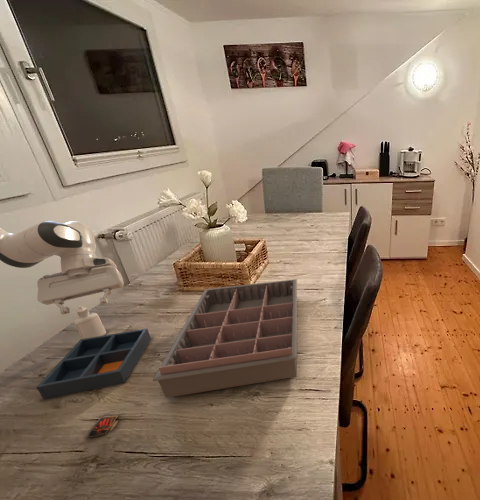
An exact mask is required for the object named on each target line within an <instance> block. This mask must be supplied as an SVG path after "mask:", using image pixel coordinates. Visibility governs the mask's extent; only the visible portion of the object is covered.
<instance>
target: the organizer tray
mask: <svg viewBox="0 0 480 500" xmlns="http://www.w3.org/2000/svg"><path fill="white" fill-rule="evenodd" d="M297 377H298V279H297V278H294V279H285V280H276V281H275V280H274V281H267V282H258V283H250V284H241V285H232V286H231V285H230V286H222V287H214V288H205V289H204V290H203V292H202V294H201V295H200V298H199V299H198V301H197V303H196V304H195V306H194V308H193V310H192V311H191V313H190V315H189V316H188V318H187V320H186V321H185V324H184V325H183V327H182V328H181V330H180V332H179V334H178V336H177V337H176V339H175V340H174V342H173V344H172V346H171V347H170V349H169V351H168V353H167V354H166V355H165V358H164V360H163V361H162V363H161V365H160V366H159V367H158V370H157V371H156V373H155V374H154V377H153V378H152V382H158V383H159V387H160V388H161V390H162V393H163V396H164V398H165V399H168V398H172V397H179V396H186V395H191V394H197V393H203V392H211V391H216V390H221V391H223V390H224V389H228V388H234V387H241V386H247V385H252V384H253V385H255V384H259V383H266V382H272V381H277V380H283V379H285V380H286V379H291V378H297ZM222 389H223V390H222Z"/></svg>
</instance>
